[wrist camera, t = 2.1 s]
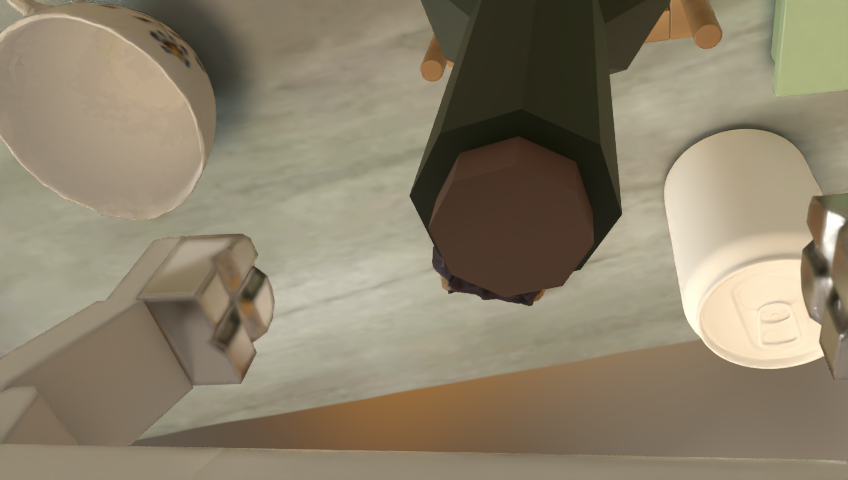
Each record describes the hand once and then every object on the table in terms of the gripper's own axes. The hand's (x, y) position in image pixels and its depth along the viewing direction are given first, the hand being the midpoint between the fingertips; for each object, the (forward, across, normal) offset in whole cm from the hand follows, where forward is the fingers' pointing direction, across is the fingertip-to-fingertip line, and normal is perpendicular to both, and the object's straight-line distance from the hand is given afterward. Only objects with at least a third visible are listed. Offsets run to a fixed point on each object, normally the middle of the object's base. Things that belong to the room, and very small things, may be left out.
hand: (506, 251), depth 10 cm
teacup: (+30, +26, +6) cm, 40 cm away
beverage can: (+31, -9, +19) cm, 37 cm away
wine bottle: (+30, 0, 0) cm, 31 cm away
